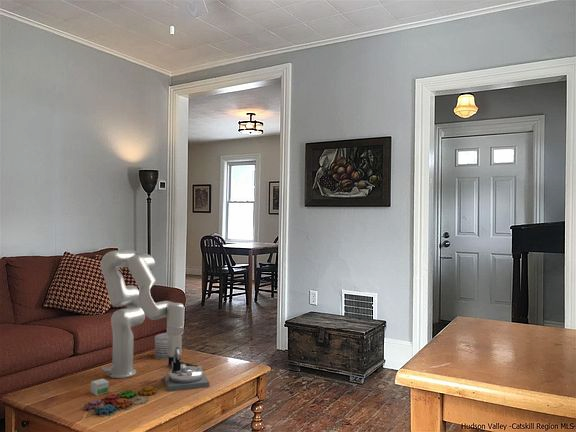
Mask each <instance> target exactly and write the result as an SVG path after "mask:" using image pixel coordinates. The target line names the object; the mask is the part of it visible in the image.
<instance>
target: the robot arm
mask: <svg viewBox="0 0 576 432" xmlns="http://www.w3.org/2000/svg"><path fill="white" fill-rule="evenodd" d="M155 266H156V261H155V259H154V257H153V256H152V255H150V254H148V253H144V252H141V251H139V250H134V249H124V250H123V249H122V250H112V251H111V250H110V251H109V252H107V253H105V254H104V255H103V257H102V259H101V261H100V270H101V273H102V276H103V278H104V281H105V286H106V290H107V293H108V294H107V295H108V299H109V302H110V304H111V306H113V307H115V308H117V307H124V306H126V307H124V308H120V309H117V310H116V311H114V312H113V313H112V315H111V318H110V323H111V330H112V355H111V356H112V360H111V361H112V363H111V365H109V366H103V367H102V369H101V371H102V372H103V373H108V377H110V378H112V379H124V378H125V379H126V378H131V377H133V376H135V375H136V374H137V369H135V368H134V343H135V341H134V340H135V339H134V338H135V337H134V333H133V330H132V328H133V327H136V326H138V325H141V324H143V322H144V321H145V319H146V318H148V319H149V320H151V321H155V320H160V319H164V318H166V333H167V335H168V338H167V354H168V355H169V356H170V357H169V359H168V363H167V364H168V366H170V365H172V361H174V362H173V371H180V370H181V362H182V360H181V356H182V348H183V347H182V345H183V344H182V342H183V341H182V339H183V338H182V335H183V334H184V331H185V330H184V329H185V327H184V326H185V324H184V323H185V322H184V321H185V320H184V318H185V306H184V303H181V302H174V301H170V300H163V301H158V302H155V301H154V299H153V297H152V296H151V288H152V287H154V285H155V284H156V282H157V279H156V277H155V275H154V274H153V272H152V271H153V270H154V268H155ZM119 268H128V271H129V272H130V275H131V277H132V278H133V280H134V281H135V283H136V286H135V285H133V284H130V285H126V283H125V278H124V275H123V274H122V272H121V271H120V270H119ZM138 288H139V289H138Z"/></svg>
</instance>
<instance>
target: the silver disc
mask: <svg viewBox="0 0 576 432" xmlns="http://www.w3.org/2000/svg"><path fill="white" fill-rule="evenodd" d="M173 362H174V361H172V367H171V369H170V370H169V372H168V373H169V379H170V380H171V381H173V382H176V383H190V382H195V381H198V380H200V379H202V377H203V373H204V372H203V366H202V365H197V366H198V367H195V366H186V364H181V370H180V371H173Z"/></svg>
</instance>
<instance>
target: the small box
mask: <svg viewBox="0 0 576 432" xmlns="http://www.w3.org/2000/svg"><path fill="white" fill-rule="evenodd" d="M109 387H110V382H109V380H107V379H105V378H100V379H96V380H91V381H90V393H91V394H93V395H94V396H101V395H104V394H107V393H108V394H109V390H110V388H109Z"/></svg>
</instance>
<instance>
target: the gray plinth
mask: <svg viewBox="0 0 576 432" xmlns="http://www.w3.org/2000/svg"><path fill="white" fill-rule="evenodd" d="M163 380H164V383H165V385H166V386H165V387H166V388H167V391H168V392H173V391H180V390H191V389H198V388H200V389H201V388H207V387H208V388H209V387H210V381H209V380H208V378H207V375H205V373H204V372H203V377H202V379H200V380H198V381H195V382H190V383H176V382H173V381H171V380H170V379H169V372H166V373H163Z"/></svg>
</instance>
